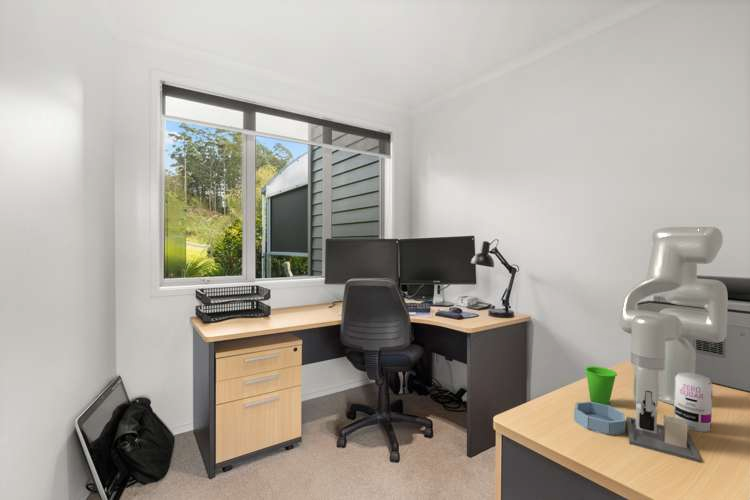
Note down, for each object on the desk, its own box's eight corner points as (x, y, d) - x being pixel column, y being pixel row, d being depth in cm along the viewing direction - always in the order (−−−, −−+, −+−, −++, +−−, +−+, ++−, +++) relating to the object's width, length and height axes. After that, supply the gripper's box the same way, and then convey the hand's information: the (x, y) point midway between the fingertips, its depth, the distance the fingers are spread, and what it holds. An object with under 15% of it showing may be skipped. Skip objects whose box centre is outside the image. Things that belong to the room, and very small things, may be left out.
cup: (621, 411, 113) (622, 377, 113) (590, 408, 115) (591, 374, 115) (608, 399, 122) (609, 367, 122) (579, 396, 124) (580, 365, 124)
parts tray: (626, 420, 107) (626, 416, 107) (687, 434, 100) (687, 430, 100) (629, 445, 94) (629, 440, 94) (699, 464, 86) (700, 459, 86)
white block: (635, 422, 102) (636, 402, 102) (654, 427, 99) (655, 406, 99) (636, 428, 99) (636, 407, 99) (656, 433, 96) (657, 411, 96)
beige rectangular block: (663, 436, 98) (663, 415, 98) (684, 441, 95) (684, 419, 95) (664, 442, 95) (665, 420, 95) (686, 448, 92) (687, 425, 92)
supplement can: (701, 422, 107) (703, 373, 107) (717, 436, 99) (719, 383, 99) (668, 417, 110) (670, 369, 109) (681, 430, 102) (683, 379, 102)
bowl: (576, 410, 113) (576, 398, 113) (623, 422, 106) (623, 408, 106) (573, 427, 103) (573, 413, 103) (625, 441, 96) (625, 426, 96)
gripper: (629, 350, 107) (627, 409, 108) (632, 367, 93) (631, 435, 94) (660, 354, 103) (659, 416, 104) (669, 373, 89) (667, 444, 90)
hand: (645, 424), depth 99 cm, fingers closed on white block, 3 cm apart
